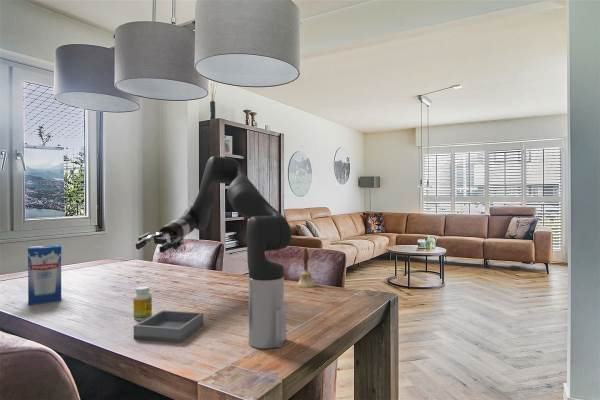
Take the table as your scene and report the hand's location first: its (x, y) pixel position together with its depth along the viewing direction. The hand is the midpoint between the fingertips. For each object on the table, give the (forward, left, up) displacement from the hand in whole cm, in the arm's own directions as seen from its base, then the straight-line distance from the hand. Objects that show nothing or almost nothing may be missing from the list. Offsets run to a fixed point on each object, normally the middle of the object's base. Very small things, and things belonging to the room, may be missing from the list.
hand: (148, 248), depth 119 cm
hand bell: (-43, -49, -22) cm, 69 cm away
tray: (-15, +12, -22) cm, 29 cm away
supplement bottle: (0, +3, -22) cm, 22 cm away
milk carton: (+47, -7, -22) cm, 52 cm away
